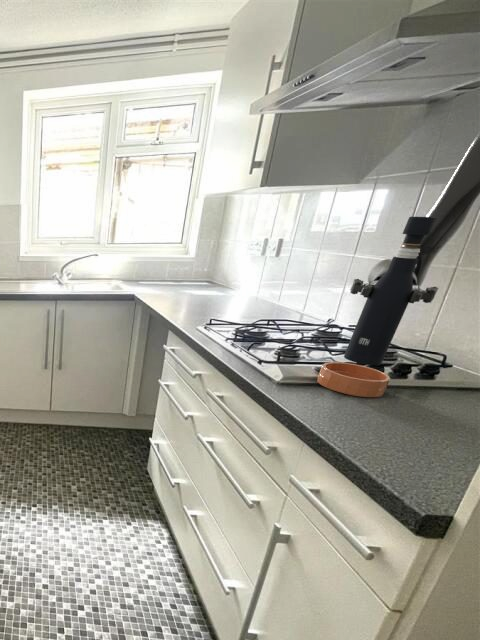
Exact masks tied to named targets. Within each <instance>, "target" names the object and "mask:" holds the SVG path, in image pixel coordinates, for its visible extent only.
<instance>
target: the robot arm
mask: <svg viewBox="0 0 480 640" xmlns="http://www.w3.org/2000/svg"><path fill="white" fill-rule="evenodd" d="M479 196H480V131H479V132H478V133H477V134H476V136H475V137H474V139H472V141H471V143H470V145H469V147H468V148H467V149H466V151H465V153H464V155H463V156H462V158H461V161H460V162H459V164H458V165H457V167H456V169H455V170H454V172H453V174H452V176H451V177H450V179H449V180H448V182H447V183H446V185H445V186H444V188H443V190H442V191H441V192H440V194H439V196H437V199H436V200H435V202H434V203H433V204H432V205H431V206H430V208H429V209H428V211H426V213H425V215H424V216H423V217H437V219H436V221H435V224H434V226H433V228H432V230H431V232H430V235H424V237H423V240H422V242H421V245H420V246H405V245H403V243H402V244H401V245H400V247H404V248H418V249H420V252H419V253H418V255H419V256H417V258H418V261H417V264H416V266H415V268H414V271H413V287H412V294H411V298H410V300H409V303H408V304H414V303H420V301H422V302H423V303H424V304H428V303H429V304H430V303H432V302H433V301H434V299H435V297H436V295H437V293H438V290H439V287H437V286H430V287H426V289H423V288H421V287H422V285H423V283H424V282H425V279H426V277H427V276H428V272H429V270H430V267H431V266H432V264H433V262H434V260H435V259H436V258H437V257H438V255H439V253H440V252H441V251H442V250H443V248H444V247H445V246H447V244H448V243H449V242H450V241H451V239H452V238H453V237H454V236H455V235H456V234H457V232H458V231H459V230H460V228H461V227H462V226H463V225H464V223H465V221H466V219H467V217H468V216H469V214H470V212H471V210H472V208H473V206H474V204H475V202H476V201H477V199H478V197H479ZM391 261H392V258H386V259H383V260H380V261H378V262H376V264H375V265H373V267H372V268H371V269H370V271H369V273H368V275H367V283H365V281H364V280H362V279H359V278H354V279H353V281H352V284H351V287H350V289H349V292H350V294H351V295H358V293H360V294H359V295H360V296H362V297H363V298H365V299H367V298H368V296H369V293H370V292H371V290H372V289H373V287H374V286H375V284H376V283H377V282H378V281H379V279H380V278H381V277H382V276H383V275H384V274H385V273H386V272H387V270H388V268H389V266H390V263H391Z"/></svg>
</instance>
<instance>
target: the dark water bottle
mask: <svg viewBox="0 0 480 640" xmlns="http://www.w3.org/2000/svg"><path fill="white" fill-rule="evenodd" d="M436 219H437V217H424V216H409V217H408V219H407V221H406V224H405V226H404V228H403V231H402V235H405V238H404V240H403V242H402V244H403V245H405V246H420V245H421V242H422V240H423V237H424V235H430V232H431V230H432V228H433V226H434V224H435V221H436ZM396 251H397V252H396V253H395V255H396V256H393V257H392V258H391V259H392V261H391V263H390V266H389V268H388V270H387V272H386V273H385V274H384V275H383V276H382V277H381V278H380V279H379V281H378V282H377V283H376V284H375V286H374V287H373V289H372V290H371V292H370V293H369V296H368V298H366V300H365V303H364V306H363V307H362V311H361V313H360V315H359V318H358V320H357V323H356V325H355V327H354V330H353V333H352V335H351V337H350V340H349V342H348V344H347V347H346V350H345V352H344V355H343V358H344V359H345V360H347V361H349V362H353V363H357V364H359V365H361V364H362V365H367V366H368V365H369V366H380V365H381V364H382V363H383V361H384V359H385V356H386V354H387V352H388V350H389V348H390V345H391V343H392V341H393V338H394V337H395V334H396V332H397V330H398V327H399V325H400V323H401V321H402V319H403V316H404V315H405V312H406V309H407V308H408V305H409V304H410V303H409V300H410V298H411V294H412V287H413V271H414V268H415V266H416V264H417V261H418V258H417V256H419V255H418V253H419V252H420V249H418V248H404V247H401V246H400V247H398V249H397V250H396Z"/></svg>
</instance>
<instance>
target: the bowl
mask: <svg viewBox="0 0 480 640" xmlns="http://www.w3.org/2000/svg"><path fill="white" fill-rule="evenodd" d="M320 367H321V368H320V371H319V373H318V376H317V378H316V381H317V383H318V384H319V385H320V386H322V387H324V388H327V389H329V390H331V391H333V392H337V393H341V394H345V395H349V396H353V397H362V398H380V397H382V396H383V395H384V394H385V392H386V390H387V388H388V385H389V382H390V381H391V377H390V375H388V374H387V373H385V372H383V371H380V370H378V369H376V368H372V367H369V366H365V365H364V366H363V365H361V364H355V363H349V362H341V361H340V362H339V361H330V362H324V363H322V364H321V366H320Z"/></svg>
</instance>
